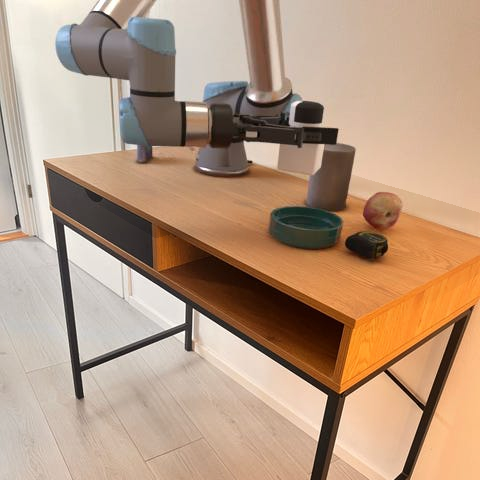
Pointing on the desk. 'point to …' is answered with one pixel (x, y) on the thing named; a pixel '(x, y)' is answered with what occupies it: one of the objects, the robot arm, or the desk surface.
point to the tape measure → (367, 244)
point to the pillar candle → (332, 178)
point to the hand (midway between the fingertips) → (326, 130)
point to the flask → (144, 153)
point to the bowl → (305, 227)
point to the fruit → (382, 210)
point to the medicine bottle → (309, 154)
